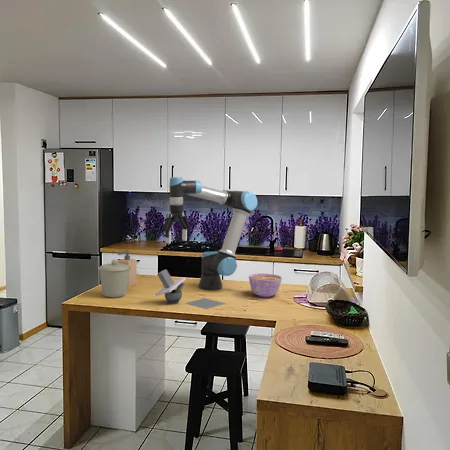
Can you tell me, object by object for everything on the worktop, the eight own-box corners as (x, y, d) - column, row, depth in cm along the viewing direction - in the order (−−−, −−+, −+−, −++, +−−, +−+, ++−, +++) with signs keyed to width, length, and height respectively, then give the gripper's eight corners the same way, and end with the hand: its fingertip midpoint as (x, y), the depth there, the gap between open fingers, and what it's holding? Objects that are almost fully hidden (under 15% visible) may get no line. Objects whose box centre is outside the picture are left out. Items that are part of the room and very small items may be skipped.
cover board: (171, 283, 253) (162, 268, 252) (185, 279, 244) (176, 263, 243) (156, 295, 244) (146, 280, 242) (170, 291, 235) (160, 275, 233)
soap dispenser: (125, 282, 294) (126, 249, 292) (136, 284, 290) (136, 250, 288) (113, 286, 282) (113, 251, 280) (124, 288, 278) (124, 253, 277)
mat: (204, 299, 257) (204, 298, 257) (225, 304, 247) (225, 303, 247) (184, 304, 244) (184, 303, 244) (206, 310, 234) (206, 309, 234)
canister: (92, 295, 259) (92, 259, 257) (118, 290, 272) (119, 256, 270) (109, 301, 246) (109, 263, 245) (136, 296, 260) (137, 260, 258)
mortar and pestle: (167, 306, 239) (167, 284, 237) (161, 302, 247) (162, 281, 246) (186, 305, 243) (187, 283, 242) (180, 300, 252) (181, 279, 251)
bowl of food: (287, 296, 269) (288, 277, 268) (267, 301, 255) (268, 281, 254) (261, 290, 283) (262, 272, 282) (241, 295, 268) (241, 276, 267)
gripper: (165, 205, 240) (166, 245, 242) (195, 203, 260) (195, 240, 262) (155, 205, 244) (156, 243, 247) (186, 203, 264) (186, 239, 266)
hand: (176, 242), depth 254 cm, fingers open, 13 cm apart
